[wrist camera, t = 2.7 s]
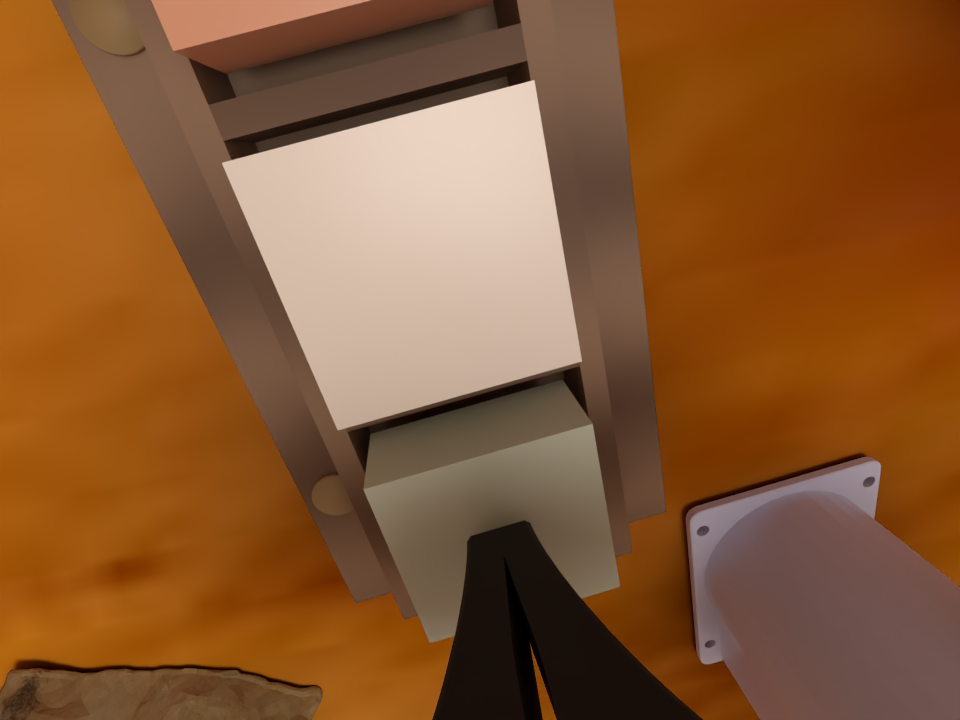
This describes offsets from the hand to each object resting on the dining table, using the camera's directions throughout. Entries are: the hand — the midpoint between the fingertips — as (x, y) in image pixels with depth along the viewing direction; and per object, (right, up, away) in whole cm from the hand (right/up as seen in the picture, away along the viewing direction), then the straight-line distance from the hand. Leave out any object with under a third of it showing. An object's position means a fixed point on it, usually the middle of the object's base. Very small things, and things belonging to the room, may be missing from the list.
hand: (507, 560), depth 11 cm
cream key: (-2, +7, 0) cm, 7 cm away
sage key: (0, +1, +3) cm, 3 cm away
